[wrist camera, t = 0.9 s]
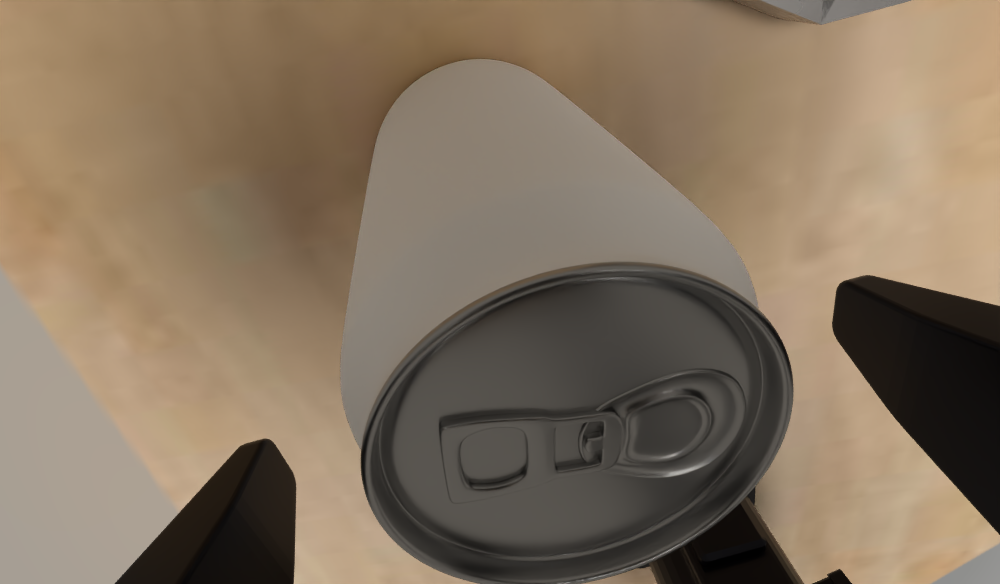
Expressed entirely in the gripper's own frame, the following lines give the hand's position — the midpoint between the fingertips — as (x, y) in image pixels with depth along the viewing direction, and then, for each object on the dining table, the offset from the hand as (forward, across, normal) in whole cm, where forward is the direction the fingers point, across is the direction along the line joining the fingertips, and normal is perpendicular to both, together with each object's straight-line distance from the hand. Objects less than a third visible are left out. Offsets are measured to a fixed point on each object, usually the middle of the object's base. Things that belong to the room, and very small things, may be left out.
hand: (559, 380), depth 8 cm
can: (+10, 0, 0) cm, 11 cm away
